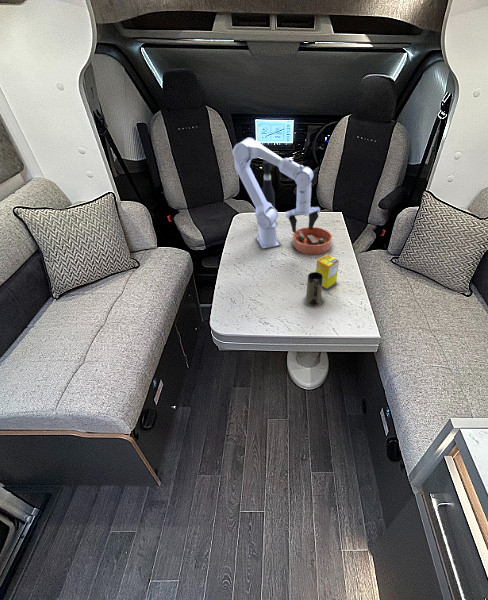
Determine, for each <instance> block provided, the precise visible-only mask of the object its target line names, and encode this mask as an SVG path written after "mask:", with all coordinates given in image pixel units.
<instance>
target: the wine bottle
mask: <svg viewBox="0 0 488 600" xmlns="http://www.w3.org/2000/svg"><path fill="white" fill-rule="evenodd" d="M262 170H263V172H264V173H263V180H262V181H263V186H262V188H261V191H262V193H263V195H264V197H265V199H266V201H267V202H269V203H271V204H272V206H273V207H274V208H275V209H276V200H275V199H276V196H275V190H274V188H273V184H272V183H273V181H272V175H271V171H272V163H270V162H268V161H266V160H263V161H262Z"/></svg>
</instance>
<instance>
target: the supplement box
mask: <svg viewBox="0 0 488 600" xmlns="http://www.w3.org/2000/svg"><path fill="white" fill-rule="evenodd" d="M339 262H340V260H339V259H338V258H336V257H334V256H332V255H330V254H328V253H327V254H325V255H323V256H321V257H319V258H317V259H316V267H315V272H318V273H320V274H322V276H323V279H322V289H323V290H325V291H327V290H329V289H331V288H332V287H334V286H335V285H336V284H337V281H338V272H339V271H338V270H339Z"/></svg>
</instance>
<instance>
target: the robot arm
mask: <svg viewBox="0 0 488 600" xmlns="http://www.w3.org/2000/svg"><path fill="white" fill-rule="evenodd" d="M231 154H232V156H233V160H234V162H233V163H234V168H235V170H236V173H237V174H238V177H239V178H240V181H241V182H242V184H243V186H244V188H245V190H246V192H247V195H248V196H249V198H250V199H251V200H250V201H252V203H253V205H254V207H255V212H254V214H255V217H256V223H257V225H258V226H257V230H258V237H257V238H256V240H257V242H258V244H259V245H260V246H261V249H269V248H274V247H279V246H280V243H279V242H278V240H277V222H276V220H277V219H278V217H279V213H278V210H277V209H276V207H275V208H274V207H273V206H272V204H271V203H269V202H267V201H266V199H265V197H264V195H263V193H262V188H261V187H260V185H259V182H258V180H257V179H256V177H255V174H254V173H253V170H252V168H251V166H250V165H251V163H252V160H254V159H259V158H260V159H262V160H263V161H268V162H270V163H271V165H274V166H276V167H277V168H278V170H279V172H280V173H282V174H283V175H285V176H286V177H288V178H290V179H291V180H293V181H294V182H295V184H296V201H295V202H296V203H295V206H296V207H295V208H294V209H291V210H287V211H285V218H287V219H288V220H289V223H290V226H291V231H292V233H293V234H294V233H296V230H297V222H298V219H297V218H296V217H298V216H305V217H307V216H308V227H309V229H310V230H312V229H313V227H315V226H314V225H315V224H316V221H317V220H318V218H319V214H321V207H319V206H311V204H312V203H311V201H312V200H311V199H312V181H313V179H314V175H315V174H314V171H313V170H312V169H311V168H310V167H309V166H304V165H303V164H299V163H298V162H295V161H294V159H293V158H292V157H284V158H282V157H281V156H279V155H278V154H277V153H275V152H273V151H272V150H270V149H269V148H268V147H266V146H264V145H263V144H262V143H261V142H260V141H259V140H255V138H253V137H249V136H248V137H246V138H244V139H243V140H242V141H240V142H237V143H236V144H235V145H234V147H233V150H232V153H231Z"/></svg>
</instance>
